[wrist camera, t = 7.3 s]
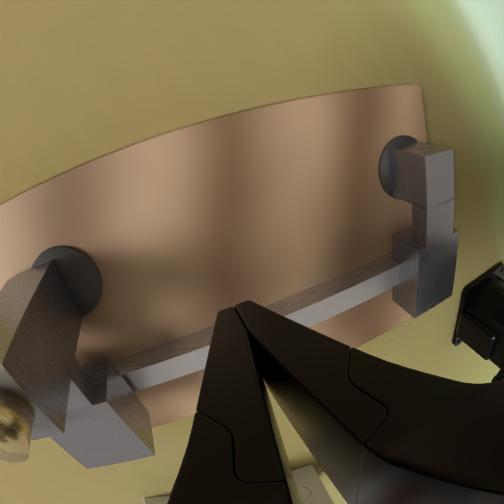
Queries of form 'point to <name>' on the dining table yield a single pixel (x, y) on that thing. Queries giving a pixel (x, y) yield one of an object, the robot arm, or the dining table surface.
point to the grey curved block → (306, 479)
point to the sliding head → (61, 380)
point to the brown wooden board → (221, 224)
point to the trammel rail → (357, 280)
